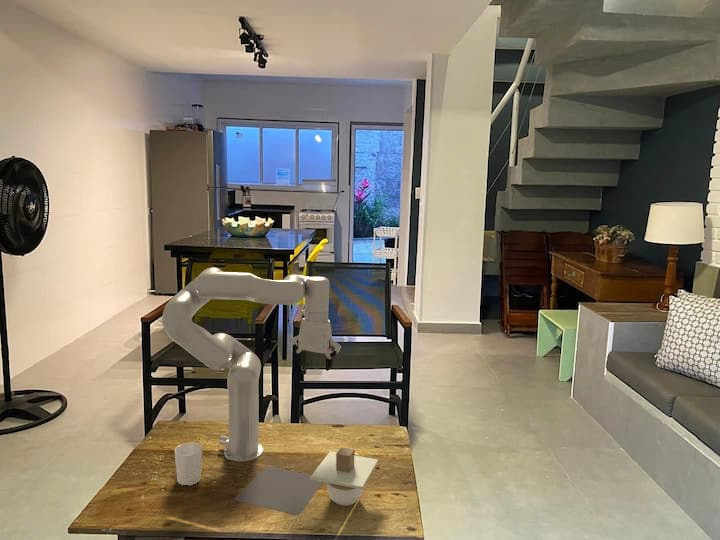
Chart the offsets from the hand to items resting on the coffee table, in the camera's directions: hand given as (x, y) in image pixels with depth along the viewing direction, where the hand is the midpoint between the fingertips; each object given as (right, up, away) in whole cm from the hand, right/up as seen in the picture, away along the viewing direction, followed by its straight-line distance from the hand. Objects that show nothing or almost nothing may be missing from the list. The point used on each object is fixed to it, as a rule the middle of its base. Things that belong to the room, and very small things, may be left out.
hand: (314, 367), depth 183 cm
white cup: (-37, -32, -13) cm, 50 cm away
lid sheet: (+10, -25, -23) cm, 36 cm away
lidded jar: (+10, -35, -21) cm, 42 cm away
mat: (-8, -33, -17) cm, 38 cm away
